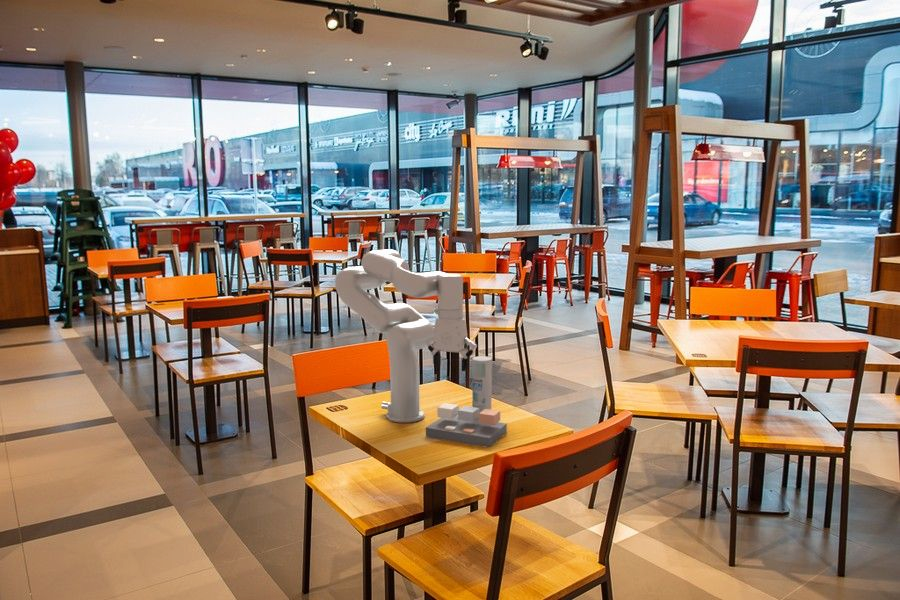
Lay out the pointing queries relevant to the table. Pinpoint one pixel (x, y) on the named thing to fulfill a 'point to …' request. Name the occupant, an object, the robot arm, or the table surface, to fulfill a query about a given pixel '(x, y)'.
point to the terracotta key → (489, 416)
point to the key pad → (466, 431)
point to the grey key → (468, 413)
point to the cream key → (447, 410)
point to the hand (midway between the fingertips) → (450, 368)
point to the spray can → (481, 382)
